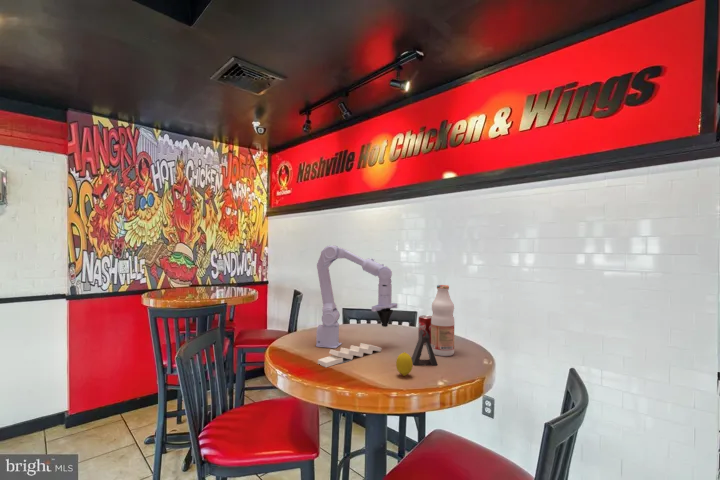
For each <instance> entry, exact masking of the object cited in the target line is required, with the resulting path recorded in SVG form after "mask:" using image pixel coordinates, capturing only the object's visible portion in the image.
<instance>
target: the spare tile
mask: <svg viewBox="0 0 720 480" xmlns="http://www.w3.org/2000/svg"><path fill="white" fill-rule="evenodd" d="M341 362H343V358H342V357H338V356H335V355H332V354H330V355H329V356H326V357H322V358H319V359H317V365H319V364H320V365H319V366H322V367H323V368H328V367H332V366H335V365H337V364H338V363H341ZM338 365H339V364H338Z"/></svg>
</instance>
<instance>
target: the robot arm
mask: <svg viewBox="0 0 720 480" xmlns="http://www.w3.org/2000/svg"><path fill="white" fill-rule="evenodd" d="M337 259H346V260H348V261H350V262H353V263H355V264H357V265H359V266H361V267H362V270H363V272H366V273H368V274H370V275H372V276H374V277H378V285H377V286H378V289H377V290H378V291H377V292H378V293H377V294H378V297H377V301H378V303H377V304H376V305H373V306H371V312H373V313H374V312H376V313H377V315H378V316H379V320H380V323H381V327H383V328H387V327H388V324H389V323H390V322H389V321H390V318H391V315H392V313H393V312H394V311H393V309H397V308H398V303H395V302H393V303H392V291H393V290H392V276H393V271H392V269H391V268H390V267H388V266H387V265H385V264H384V263H379V262H376V261H375V258H366V259H365V258H363V257H361V256H359V255H357V254H355V253H353V252H351V251H349V250H348V249H347V248H343V247H340V246H337V245H331V244H330V245H327V246H325V247H324V248H323V249H322V250H321V251H320V255H319V258H318V260H317V262H316V269H317V275H318V276H317V277H318V280H319V287H320V294H321V300H322V301H321V302H322V309H321V310H322V315H321V322H322V324H318V325H317V328H316V337H315V339H316V344H315V347H318V348H327V349H337V348H338V347H340V346H341V345H342V344H343V343H342V342H339V340H340V339H339V338H340V337H339V336H340V323H339V319H340V316H341V315H340V312H339V311H338V308H337V305H336V302H335V298H334V293H333V286H332V281H331V274H330V269H329V268H330V266H331V265H332V264H333V262H335V261H337Z"/></svg>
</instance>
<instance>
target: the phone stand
mask: <svg viewBox="0 0 720 480" xmlns="http://www.w3.org/2000/svg"><path fill="white" fill-rule="evenodd" d="M424 331H425V332H426V335H425V337H424V336H423V334H425V333H424V332H423V330H422V329H421V330H420V331H419V339H417V342H416V345H415V347H414V351H413V353H412V355H411V356H412V357H411V358H412V363H413V366H420V367H421V366H425V367H426V366H427V367H428V366H431V367H434V366H435V367H436V366H438V365H439V364H438V362H437V359H436V356H435V354H434V353H433V350H432V347H431V344H430V340H429V339H430V335H429V334H428V333H427V331H426V330H425V329H424ZM424 343H426V345H424ZM424 346H426V349H427V350H426V351H427V353H428V358H429V359H421V355H422V352H423V348H424Z"/></svg>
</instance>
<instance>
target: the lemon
mask: <svg viewBox="0 0 720 480" xmlns="http://www.w3.org/2000/svg"><path fill="white" fill-rule="evenodd" d="M411 356H412V355H411ZM411 356H410V354H409V353H407V352H405V351H404V352H403V351H402V353H400V354H398V356H397V358H396V361H395V362H396V365H395V366H396V370H397V371H398V372H399V374H401V375H402V376H403V377H405V376H407V375H409V374H410V373H411V372H412V370H413V366H414V365H413V363H412V357H411Z"/></svg>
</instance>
